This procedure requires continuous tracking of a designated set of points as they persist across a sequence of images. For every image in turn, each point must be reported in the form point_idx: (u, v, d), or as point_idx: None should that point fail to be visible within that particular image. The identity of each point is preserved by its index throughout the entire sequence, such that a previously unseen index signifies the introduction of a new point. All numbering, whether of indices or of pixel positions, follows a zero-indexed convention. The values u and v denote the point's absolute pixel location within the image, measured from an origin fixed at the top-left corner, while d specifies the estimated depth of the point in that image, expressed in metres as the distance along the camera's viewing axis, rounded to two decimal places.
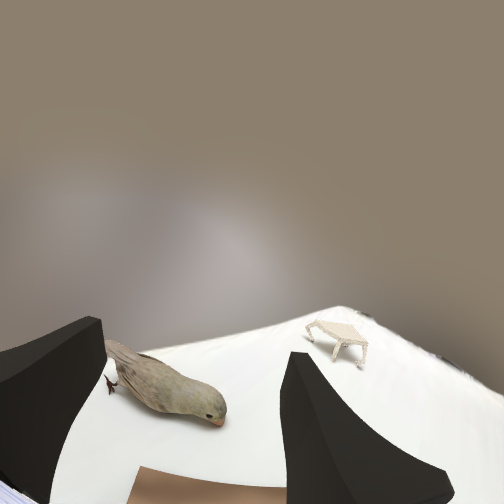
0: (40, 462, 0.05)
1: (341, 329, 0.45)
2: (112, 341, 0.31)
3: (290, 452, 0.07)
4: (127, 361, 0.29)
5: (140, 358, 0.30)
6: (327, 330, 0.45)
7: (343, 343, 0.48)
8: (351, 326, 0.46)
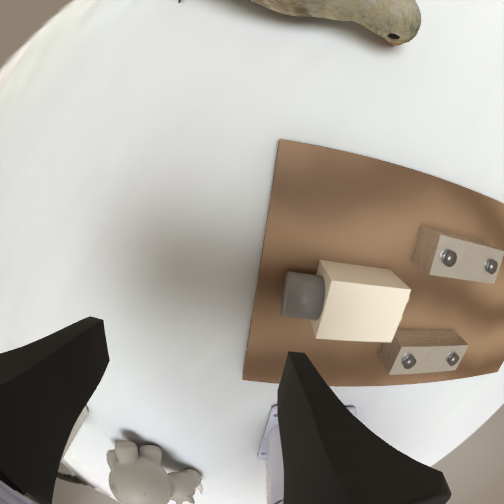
0: (42, 463, 0.05)
1: None
2: None
3: (287, 452, 0.07)
4: None
5: None
6: None
7: None
8: None
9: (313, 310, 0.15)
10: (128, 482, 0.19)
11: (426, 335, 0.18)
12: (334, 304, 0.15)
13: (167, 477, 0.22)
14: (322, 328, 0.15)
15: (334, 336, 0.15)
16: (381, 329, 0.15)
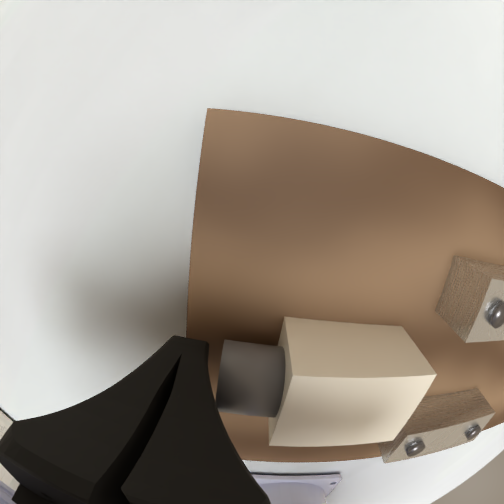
0: None
1: None
2: None
3: None
4: None
5: None
6: None
7: None
8: None
9: (263, 411, 0.08)
10: None
11: (442, 406, 0.11)
12: (299, 408, 0.08)
13: None
14: (279, 434, 0.08)
15: (300, 443, 0.08)
16: (379, 429, 0.08)
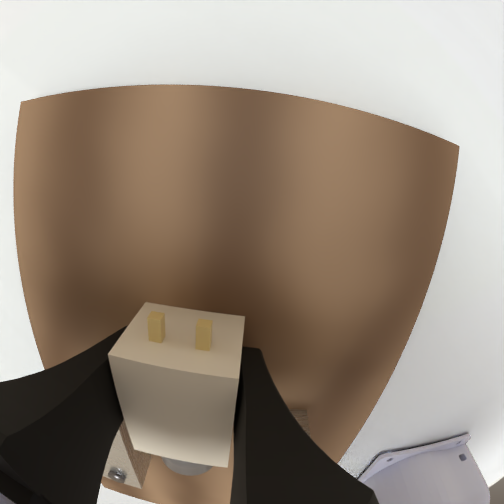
0: (87, 485, 0.05)
1: None
2: None
3: (235, 448, 0.07)
4: None
5: None
6: None
7: None
8: None
9: None
10: None
11: None
12: (166, 451, 0.08)
13: None
14: (208, 462, 0.08)
15: (223, 453, 0.08)
16: (203, 401, 0.07)
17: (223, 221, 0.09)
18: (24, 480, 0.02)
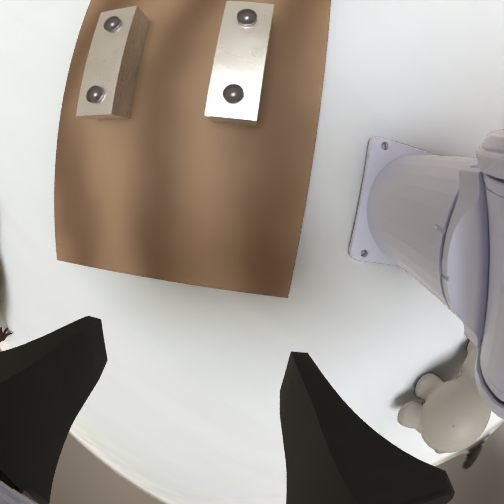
0: (40, 462, 0.05)
1: None
2: None
3: (290, 452, 0.07)
4: None
5: None
6: None
7: None
8: None
9: None
10: (433, 435, 0.16)
11: None
12: None
13: (454, 384, 0.18)
14: None
15: None
16: None
17: None
18: None
